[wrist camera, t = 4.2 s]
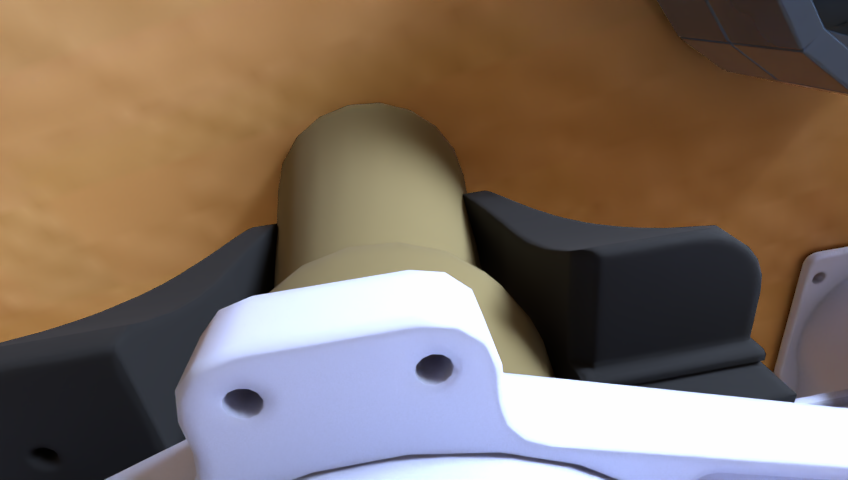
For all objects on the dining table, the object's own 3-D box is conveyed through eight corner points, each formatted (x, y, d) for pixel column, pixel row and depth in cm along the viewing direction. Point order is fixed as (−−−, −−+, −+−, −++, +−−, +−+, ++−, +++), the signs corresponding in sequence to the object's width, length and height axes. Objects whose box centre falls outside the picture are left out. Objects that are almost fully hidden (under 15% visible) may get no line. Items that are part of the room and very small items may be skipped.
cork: (312, 294, 17) (248, 683, 7) (249, 128, 14) (17, 394, 5) (477, 254, 17) (633, 584, 7) (447, 81, 15) (628, 246, 5)
